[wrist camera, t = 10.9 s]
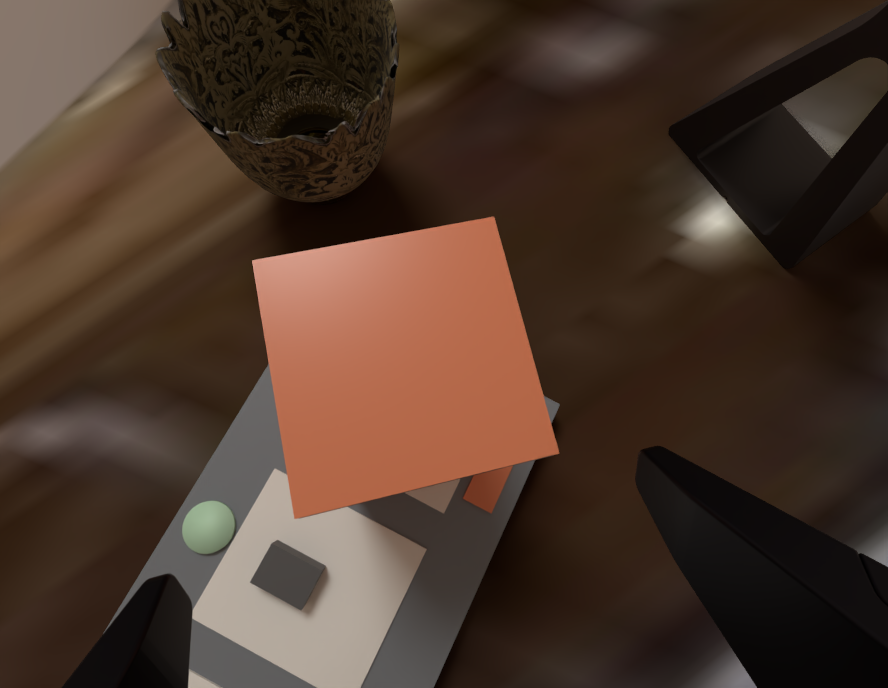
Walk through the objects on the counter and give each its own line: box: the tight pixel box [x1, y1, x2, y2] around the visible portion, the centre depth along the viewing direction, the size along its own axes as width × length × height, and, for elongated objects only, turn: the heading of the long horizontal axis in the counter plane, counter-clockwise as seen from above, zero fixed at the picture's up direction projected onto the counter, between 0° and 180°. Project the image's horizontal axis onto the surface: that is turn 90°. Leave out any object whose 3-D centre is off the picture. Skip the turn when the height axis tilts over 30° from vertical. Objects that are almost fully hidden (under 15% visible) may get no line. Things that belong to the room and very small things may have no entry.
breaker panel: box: [103, 364, 560, 688], centre depth 18 cm, size 20×11×2 cm, turn 153°
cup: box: [155, 0, 399, 204], centre depth 19 cm, size 8×7×8 cm
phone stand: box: [669, 1, 888, 269], centre depth 19 cm, size 9×6×12 cm, turn 35°
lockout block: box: [252, 217, 559, 519], centre depth 14 cm, size 5×5×10 cm
